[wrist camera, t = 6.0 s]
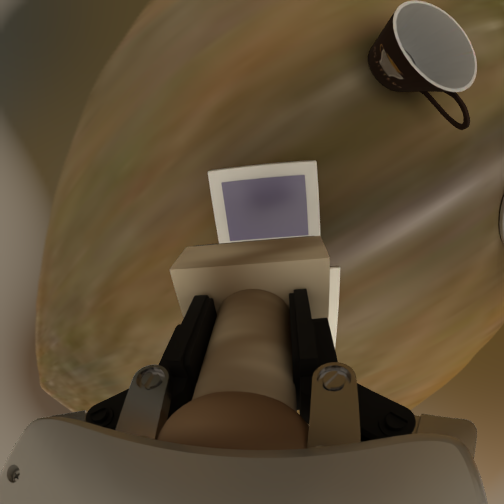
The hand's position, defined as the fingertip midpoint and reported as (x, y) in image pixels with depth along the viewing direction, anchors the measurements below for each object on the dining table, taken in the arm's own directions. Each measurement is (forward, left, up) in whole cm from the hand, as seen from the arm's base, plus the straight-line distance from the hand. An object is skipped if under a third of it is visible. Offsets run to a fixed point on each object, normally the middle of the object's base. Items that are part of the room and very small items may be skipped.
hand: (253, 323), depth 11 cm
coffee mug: (-16, -14, -20) cm, 29 cm away
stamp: (0, 0, -3) cm, 3 cm away
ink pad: (0, 0, -20) cm, 20 cm away
